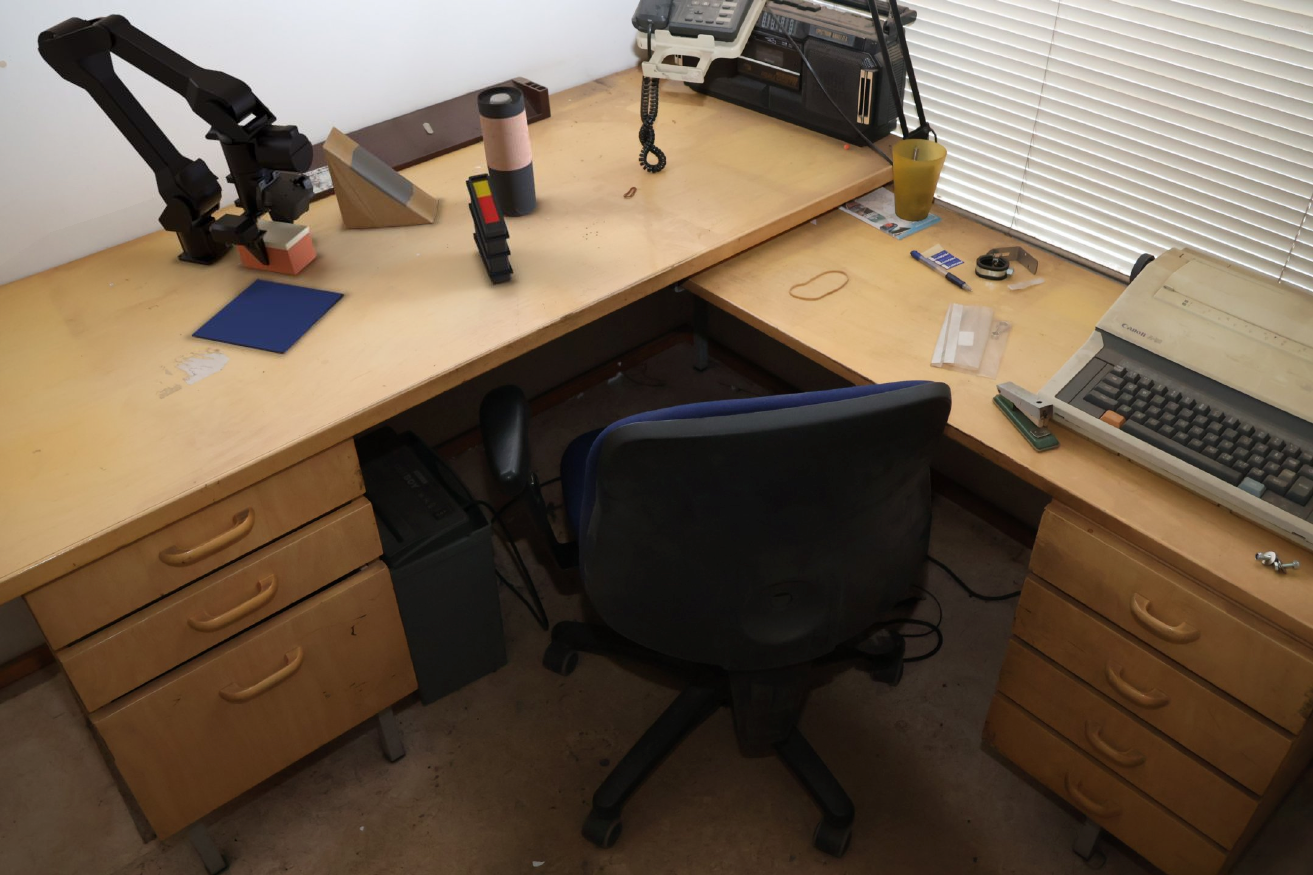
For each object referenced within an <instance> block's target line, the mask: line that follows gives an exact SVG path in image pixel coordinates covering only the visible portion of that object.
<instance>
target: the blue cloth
mask: <svg viewBox="0 0 1313 875" xmlns="http://www.w3.org/2000/svg"><path fill="white" fill-rule="evenodd" d="M344 296H345V295H344V293H341V292H336V291H330V290H323V289H317V288H312V287H308V286H299V285H295V284H288V283H283V282H277V281H271V280H266V279H259V278H256V279H255V280H254V281H253V282H252V283H251V284H250V285H248V286H247V287H246V288H245V289H244V290H242V291H241V292H240V293H239V294H238V295H237V296H236V297H234V298H233V299H231V301H230V302H228V303H227V304H226V305H225V306H223V308H221V309H220V310H219V311H218V312H217V313H215V314H214V315H213V316H212V317H211V318H209V319H208V320H207V321H206V322H205V323H203V324H202V326H200V327H199V328H198V329H196V330H195V331H193V333H192V334H191V337H192V338H193V337H194V338H199V339H204V340H209V341H214V342H220V343H225V344H230V345H235V346H240V347H245V348H249V349H256V350H260V351H261V350H262V351H266V352H271V353H278V354H281V355H283V354H284V353H285V352H287V351H288V350H289V349H290V348H291V347H292V346H293V345H294V344H295V343H296V342H297V341H298V340H299V339H300V338H301V337H302V336H303V335H304V334H306V332H307V331H308V330H309V329H311V328H312V327H313V326H314V325H315V324H316V323H317V322H318V321H319V320H320V319H321V318H322V317H323V316H324V315H325V314H326V313H327V312H328V311H329V310H330V309H331V308H332V307H333V306H334V305H335V304H336V303H337V302H339V301H340V299H342V298H343V297H344Z"/></svg>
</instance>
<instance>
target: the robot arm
mask: <svg viewBox="0 0 1313 875" xmlns="http://www.w3.org/2000/svg"><path fill="white" fill-rule="evenodd" d="M37 46H38V47H37V51H38V54H39V55H40V57H41V58H42V59H43V61H44V62H45V63H46V64H47V65H48V66H49V67H50V68H51V69H52V70H53V71H54V72H55V73H56V74H57V75H58V76H60V78H62V79H63V80H65V81H66V82H68V83H71V84H73V85H75V86H77V87H79V88H81V89H82V90H85V91H86V92H87V94H88V95H89V96H90V97H91V98H92V100H93V101H94V102H95V103H96V104H97V105H98V107H99V108H100V109H101V110H102V112H103V113H104V114H105V115H106V117H107V118H108V119H109V121H111V122H112V123H113V125H114V126H115V127H116V129H118V131H119V132H120V133H121V135H122V136H123V137H124V138H125V139H126V141H127V142H128V143H129V144H130V146H132V148H133V149H134V150H135V152H137V154H138V155H139V157H141V159H142V160H143V161H144V163H146V165H147V166H148V167H149V168H150V170H151V171H152V172H153V174H154V177H155V182H156V187H157V190H158V195H159V196H160V198H161V199H162V200H163V202H164V203H165V208H164V209H163V211H162V213H161V214H160V215H159V217H158V219H157V220H158V222H159V224H160V225H161V226H162V228H163V229H164V230H165V231H166V232H171V233H172V232H173V233H175V234H176V237H177V240H178V243H179V244H180V247H181V250H182V251H183V252H181V253H180V254H178V255H177V260H179V261H185V262H190V263H197V264H202V265H210V264H213V262H215V261H216V260H217V259H218V258H220V257H221V256H222V255H224V254H225V253H226V252H227V251H229V250H230V249H231V248H233V247H234V245H235V246H236V245H240V246H242V245H243V246H244V247H245V248H246V249H247V250H248V251H249V252H250V253H251V254H252V255H253V256H254V257H255V258H256V259H258V260H259V261H260V262H261V263H262V264H263V265H266V266H268V265H269V258H268V254H267V251H266V247H265V243H264V240H263V237H264V236H265V234H266V233H267V230H261V229H260V228H259V225H258V220H259V219H262V218H263V217H264V216H265V215H267V214H268V215H269V217H270V219H271V221H276V222H283V223H290V224H295V221H297V220H299V219H300V218H301V216H303V215H304V214H305V213H307V212H309V210H310V201H311V199H313V198H314V197H315V196H316V193H315V191H314V185H313V182H312V180H311V177H310V176H309V175H307V174H305V173H307V172H308V171H309V170H310V169H311V166H312V164H313V162H314V160H313V159H314V149H313V144H312V142H311V140H309V138H308V136H307V135H306V134H304V133H302V132H300V131H299V128H298V126H297V125H295V124H287V125H279V124H274V123H275V122H276V121H277V120H278V118H277V116H276V115H275V114H274V113H273V112H272V111H271V110H270V108H269V107H268V106H267V105H265V103H264V102H263V101H261V99H260V98H259V97H258V96H257V95H256V94H255V93H254V92H253V90H252V88H251V87H250V86H249V84H247V83H246V82H245V81H244V80H243V79H240V78H238V77H236V76H234V75H231V74H229V73H227V72H224V71H221V70H216V69H210V68H205V67H202V66H200V65H198V64H196V63H194V62H193V61H191V60H189V59H187V58H186V57H184V56H183V55H181V54H179V53H178V52H177V51H174V50H173V49H171V48H170V47H168V46H167V45H165V44H163V43H162V42H161V41H159V40H157V39H156V38H154V37H152V36H150V35H149V34H147V33H146V32H144V31H142V30H140V29H139V28H138V27H136V26H134V25H133V24H132V23H131V22H130V21H129V19H128V18H126V17H125V15H121V14H120V13H119V14H117V13H112V14H109V15H107V16H99V17H94V18H91V19H83V18H82V17H81V18H80V17H77V16H72V17H69V18H68V19H67V18H66V19H65V20H63V21H61V22H59V23H57V24H55V25H53V26H51V27H49V28H46V29H45V30H43V31H41V32H40V33H39V34H38V36H37ZM111 53H112V54H113V55H114V56H116V57H118V58H119V59H121V60H123V61H124V62H126V63H128V64H129V65H131V66H133V67H134V68H136V69H137V70H138V71H141V72H142V73H144V74H145V75H147V76H149V77H151V78H152V79H154V80H156V81H157V82H158V83H161V84H162V85H164V86H165V87H167V88H169V89H171V91H174V92H175V93H177V94H179V95H180V96H181V97H182V98H184V99H185V100H186V102H187V104H188V106H189V107H190V110H191V111H192V112H193V113H194V114H195V115H197V117H199V118H200V119H202V120H203V121H204V122H205V123H207V124H208V125H209V126H210V128H209V130H208V131H207V133H206V134H205V135H204V138H205V139H206V140H208V141H218V142H219V144H220V147H221V149H222V152H223V155H224V159H225V161H226V164H227V167H228V171H229V174H226V176H225V181H226V183H227V184H233V185H234V189H235V191H236V194H237V197H238V198H236V199H235V200H233V203H234V205H235V208H239V209H243V212H242V213H241V214H233V213H224V214H223V215H222V216H220V217H219V218H218V219H216V217H215V216H212V215H213V214H214V213H216V212H217V211H219V210H220V209H221V200H222V197H223V193H222V192H223V187H222V185H221V184H220V183H219V181H218V180H219V176H217V175H216V174H215V173H214V172H212V170H211V169H210V168H209V166H208V164H207V162H206V161H205V160H203V159H202V158H200V157H198V158H197V159H195V160H193V159H192V158H189V157H187V156H185V155H183V154H182V153H181V152H180V151H179V150H178V148H177V147H176V146H175V145H174V144H173V142H172V141H171V140H170V139H169V137H168V136H167V134H165V133H164V131H163V130H162V129H161V127H159V125H158V124H157V123H156V121H155V120H154V119H153V118H152V116H151V115H150V114H149V112H147V110H146V109H145V108H144V107H143V105H142V104H141V103H140V101H138V99H137V98H136V96H135V95H134V94H133V93H132V91H130V90H129V88H128V87H127V86H126V84H125V83H124V82H123V81H122V79H121V78H120V76H118V74H117V73H116V71H115V67H114V63H113V58H112V54H111ZM251 115H253V116H255V117H253V118H252V119H250V120H249V121H248V122H247V123H245V124H244V125H243V124H240V123H242V122H243V121H244V120H246V119H247V118H248V117H249V116H251ZM287 172H289V173H287ZM290 172H291V173H290ZM295 173H300V174H295Z"/></svg>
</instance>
